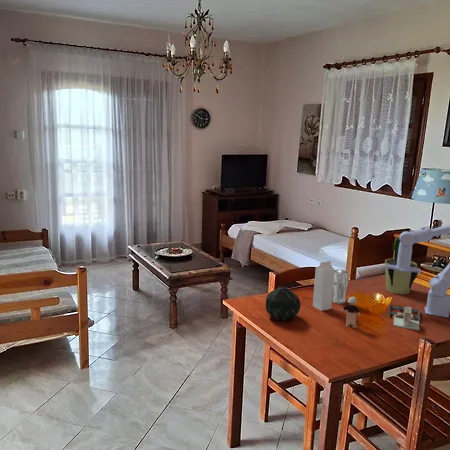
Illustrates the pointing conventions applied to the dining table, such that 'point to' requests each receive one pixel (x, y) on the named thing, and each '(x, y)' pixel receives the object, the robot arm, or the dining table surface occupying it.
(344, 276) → the beer glass
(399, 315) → the offcut stack
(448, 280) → the robot arm
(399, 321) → the sage mat
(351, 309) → the grandmother figurine
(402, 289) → the potted cactus
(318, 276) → the milk
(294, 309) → the squash
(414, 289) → the dining table surface
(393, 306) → the metal rack
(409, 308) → the tall beige block
